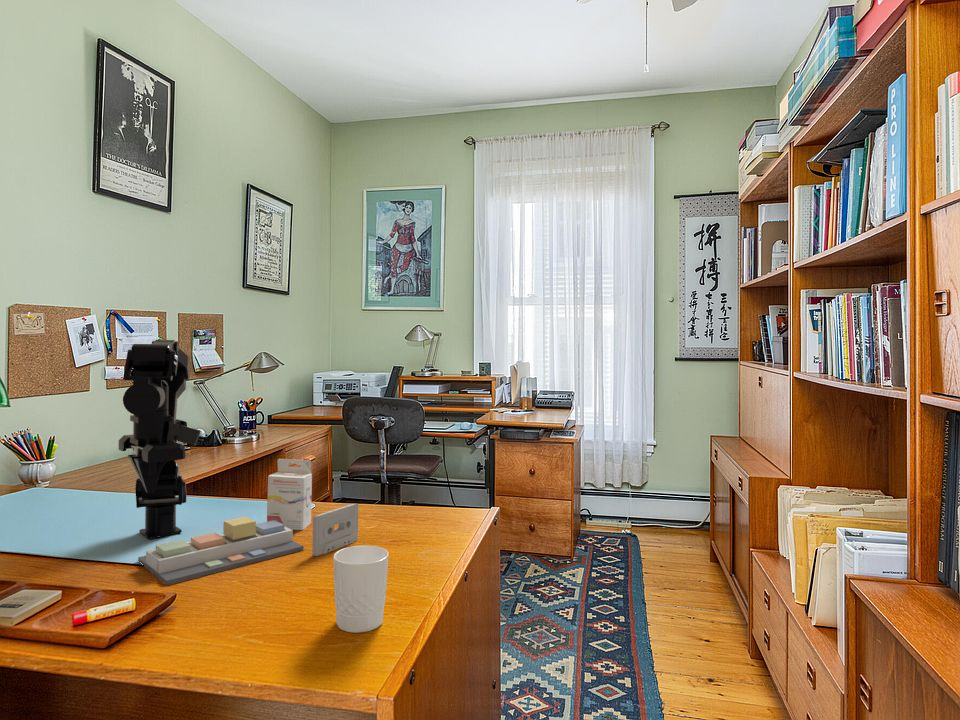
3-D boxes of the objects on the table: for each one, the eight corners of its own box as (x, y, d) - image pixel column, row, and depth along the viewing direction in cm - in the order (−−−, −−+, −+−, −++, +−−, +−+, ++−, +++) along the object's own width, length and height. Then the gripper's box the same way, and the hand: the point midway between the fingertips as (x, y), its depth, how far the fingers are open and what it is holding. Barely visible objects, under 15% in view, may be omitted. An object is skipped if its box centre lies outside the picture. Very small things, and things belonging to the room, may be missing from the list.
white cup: (337, 610, 88) (338, 545, 88) (389, 609, 89) (390, 545, 89) (327, 636, 80) (329, 564, 80) (385, 634, 81) (386, 563, 81)
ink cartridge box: (265, 528, 127) (266, 462, 127) (275, 522, 132) (276, 458, 132) (303, 530, 126) (304, 463, 126) (311, 524, 131) (312, 459, 131)
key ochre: (223, 534, 112) (223, 520, 112) (245, 529, 115) (245, 516, 115) (233, 539, 109) (233, 526, 109) (255, 534, 112) (255, 521, 112)
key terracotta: (190, 551, 108) (190, 537, 108) (214, 546, 111) (215, 532, 111) (200, 557, 105) (200, 543, 105) (224, 551, 108) (224, 538, 108)
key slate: (253, 537, 117) (253, 524, 117) (273, 532, 120) (274, 520, 120) (263, 542, 114) (263, 529, 114) (284, 537, 117) (284, 524, 117)
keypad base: (138, 561, 106) (138, 545, 106) (267, 532, 124) (267, 518, 124) (166, 585, 96) (166, 567, 96) (303, 550, 114) (303, 534, 114)
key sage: (155, 559, 104) (155, 545, 104) (181, 553, 107) (181, 539, 107) (164, 566, 101) (164, 551, 101) (190, 559, 104) (190, 545, 104)
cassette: (317, 557, 110) (317, 517, 110) (310, 555, 111) (310, 516, 111) (359, 540, 121) (360, 503, 121) (353, 538, 122) (353, 502, 122)
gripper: (214, 411, 108) (213, 494, 109) (178, 404, 121) (177, 478, 122) (149, 415, 100) (148, 505, 101) (118, 407, 113) (117, 486, 114)
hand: (150, 492), depth 109 cm, fingers closed
